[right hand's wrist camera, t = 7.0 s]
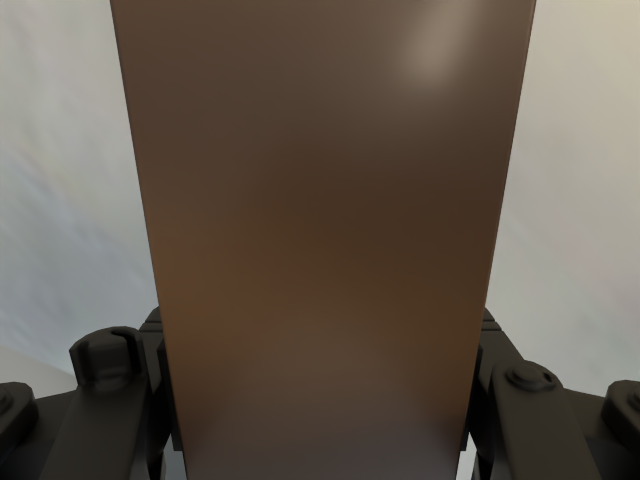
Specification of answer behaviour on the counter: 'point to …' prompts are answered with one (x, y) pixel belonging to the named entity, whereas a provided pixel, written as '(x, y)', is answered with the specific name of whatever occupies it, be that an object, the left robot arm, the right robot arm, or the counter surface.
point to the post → (322, 221)
